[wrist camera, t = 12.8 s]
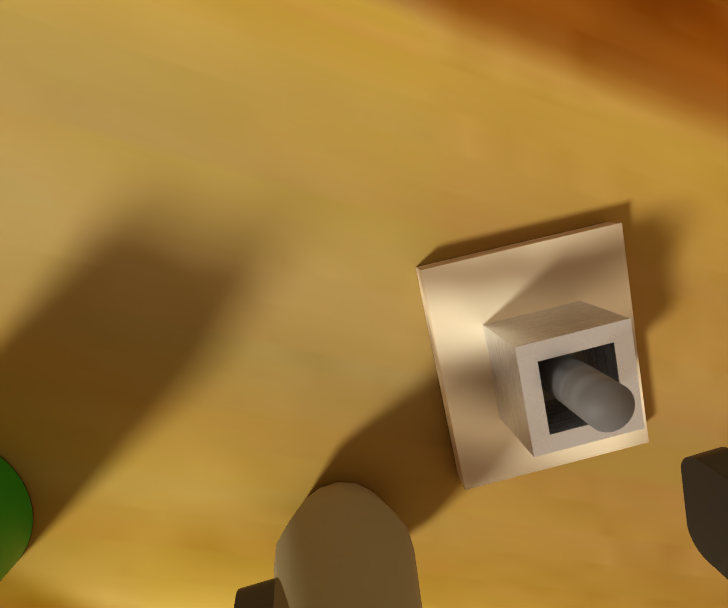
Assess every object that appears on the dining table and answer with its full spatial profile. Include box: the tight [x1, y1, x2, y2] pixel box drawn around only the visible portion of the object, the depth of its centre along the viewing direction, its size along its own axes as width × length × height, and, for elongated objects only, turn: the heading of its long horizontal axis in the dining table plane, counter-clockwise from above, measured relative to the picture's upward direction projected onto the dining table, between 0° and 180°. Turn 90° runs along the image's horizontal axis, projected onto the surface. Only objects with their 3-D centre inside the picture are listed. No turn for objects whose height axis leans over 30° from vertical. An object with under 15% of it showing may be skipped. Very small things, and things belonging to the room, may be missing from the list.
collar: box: [483, 301, 645, 457], centre depth 29 cm, size 6×6×5 cm
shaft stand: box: [416, 222, 649, 490], centre depth 29 cm, size 14×12×9 cm
